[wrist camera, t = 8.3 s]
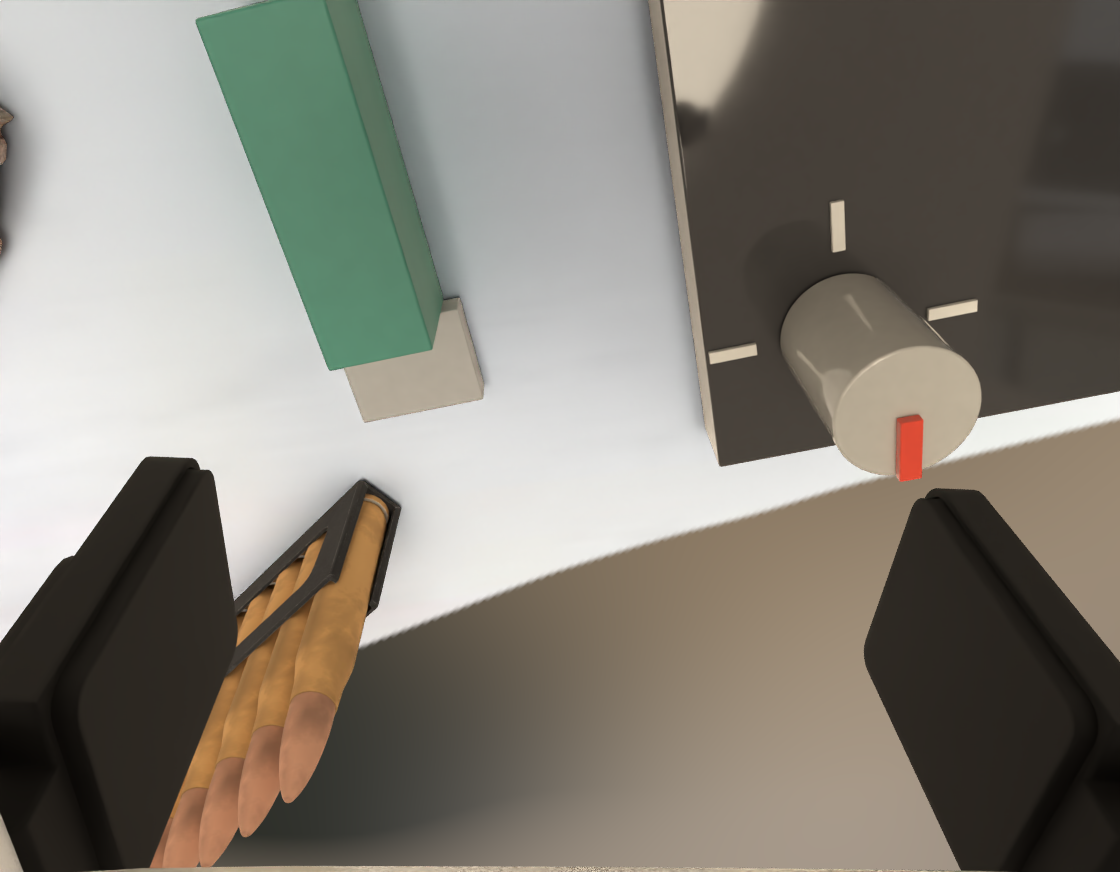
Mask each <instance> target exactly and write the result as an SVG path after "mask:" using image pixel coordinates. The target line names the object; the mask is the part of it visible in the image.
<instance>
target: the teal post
mask: <svg viewBox="0 0 1120 872" xmlns="http://www.w3.org/2000/svg"><path fill="white" fill-rule="evenodd" d="M196 25H197V27H198V30H199V33H200V35H201V38H202V40H203V43H204V46H205V48H206V51H207V54H208V56H209V59H210V61H211V64H212V67H213V69H214V72H215V74H216V77H217V80H218V82H219V85H220V87H221V90H222V93H223V95H224V98H225V100H226V103H227V106H228V108H229V111H230V114H231V116H232V119H233V121H234V124H235V127H236V129H237V132H238V134H239V137H240V140H241V142H242V145H243V147H244V150H245V153H246V155H247V158H248V161H249V163H250V166H251V168H252V171H253V174H254V176H255V179H256V181H257V184H258V187H259V189H260V192H261V194H262V197H263V200H264V202H265V205H266V208H267V210H268V213H269V215H270V218H271V221H272V223H273V226H274V228H275V231H276V234H277V236H278V239H279V241H280V244H281V247H282V249H283V252H284V255H285V257H286V260H287V262H288V265H289V268H290V270H291V273H292V275H293V278H294V281H295V283H296V286H297V288H298V291H299V294H300V296H301V299H302V302H303V304H304V307H305V309H306V312H307V315H308V317H309V320H310V322H311V325H312V328H313V330H314V333H315V335H316V338H317V341H318V343H319V346H320V349H321V351H322V354H323V356H324V359H325V362H326V364H327V367H328V369H329V370H330V371H332V370H337V369H342V368H344V370H345V373H346V375H347V378H348V381H349V383H350V386H351V389H352V391H353V394H354V397H355V400H356V402H357V405H358V408H359V410H360V413H361V416H362V418H363V421H364V422H365V423H366V422H371V421H376V420H381V419H386V418H391V417H396V416H401V415H406V414H411V413H416V412H421V411H426V410H431V409H436V408H441V407H446V406H451V405H456V404H461V403H466V402H471V401H476V400H481V399H483V395H484V382H483V378H482V375H481V371H480V368H479V364H478V361H477V357H476V353H475V350H474V346H473V343H472V339H471V336H470V332H469V328H468V325H467V321H466V318H465V314H464V311H463V307H462V303H461V300H460V298H453V299H449V300H444V301H443V295H442V292H441V288H440V285H439V281H438V278H437V274H436V271H435V268H434V264H433V261H432V257H431V254H430V250H429V247H428V244H427V240H426V237H425V233H424V230H423V226H422V223H421V220H420V216H419V213H418V209H417V206H416V202H415V199H414V196H413V192H412V189H411V185H410V182H409V178H408V175H407V172H406V168H405V165H404V161H403V158H402V154H401V151H400V147H399V144H398V141H397V137H396V134H395V130H394V127H393V123H392V120H391V117H390V113H389V110H388V106H387V103H386V99H385V96H384V93H383V89H382V86H381V82H380V79H379V75H378V72H377V69H376V65H375V62H374V58H373V55H372V51H371V48H370V45H369V41H368V38H367V34H366V31H365V27H364V24H363V20H362V17H361V14H360V10H359V7H358V3H357V0H268V1H264V2H260V3H256V4H251V5H247V6H243V7H239V8H235V9H231V10H228V11H224V12H220V13H216V14H212V15H208V16H204V17H201V18H197V19H196Z"/></svg>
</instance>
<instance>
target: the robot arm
mask: <svg viewBox="0 0 1120 872" xmlns="http://www.w3.org/2000/svg"><path fill="white" fill-rule="evenodd" d="M237 637H238V625H237V618H236V612H235V605H234V599H233V593H232V587H231V580H230V574H229V568H228V562H227V555H226V549H225V543H224V537H223V530H222V524H221V518H220V512H219V505H218V499H217V493H216V487H215V481H214V476H213V474H212V472H211V471H209V470H200V467H199V465H198V463H197V461H196V460H195V459H193V458H174V457H146V458H145V459H144V460H143V461H142V462H141V463H140V464H139V466H138V467H137V469H136V470H135V471H134V473H133V474H132V476H131V477H130V478H129V480H128V481H127V483H126V484H125V485H124V487H123V488H122V490H121V491H120V492H119V494H118V495H117V497H116V498H115V500H114V501H113V502H112V504H111V505H110V507H109V508H108V509H107V511H106V512H105V514H104V515H103V516H102V518H101V519H100V521H99V522H98V523H97V525H96V526H95V528H94V529H93V530H92V532H91V533H90V535H89V536H88V537H87V539H86V540H85V542H84V543H83V545H82V546H81V547H80V549H79V550H78V552H77V553H76V554H75V556H70V557H68V558H65V559H63V560H62V561H61V562H60V563H59V564H58V565H57V566H56V567H55V568H54V570H53V571H52V573H51V574H50V575H49V577H48V578H47V579H46V581H45V582H44V584H43V585H42V586H41V588H40V589H39V590H38V592H37V593H36V595H35V596H34V597H33V599H32V600H31V601H30V603H29V604H28V605H27V607H26V608H25V610H24V611H23V612H22V614H21V615H20V616H19V618H18V619H17V621H16V622H15V623H14V625H13V626H12V627H11V629H10V630H9V632H8V633H7V634H6V636H5V637H4V638H3V640H2V641H1V643H0V872H1120V662H1119V660H1118V659H1117V658H1116V657H1115V656H1114V654H1113V653H1112V652H1111V651H1110V649H1109V648H1108V647H1107V646H1106V645H1105V644H1104V642H1103V641H1102V640H1101V639H1100V637H1099V636H1098V635H1097V634H1096V632H1095V631H1094V630H1093V629H1092V627H1091V626H1090V625H1089V624H1088V622H1087V621H1086V620H1085V619H1084V618H1083V616H1082V615H1081V614H1080V613H1079V611H1078V610H1077V609H1076V608H1075V607H1074V605H1073V604H1072V603H1071V602H1070V600H1069V599H1068V598H1067V597H1066V596H1065V594H1064V593H1063V592H1062V591H1061V589H1060V588H1059V587H1058V586H1057V585H1056V583H1055V582H1054V581H1053V580H1052V578H1051V577H1050V576H1049V575H1048V574H1047V572H1046V571H1045V570H1044V569H1043V567H1042V566H1041V565H1040V564H1039V562H1038V561H1037V560H1036V559H1035V558H1034V556H1033V555H1032V554H1031V553H1030V551H1029V550H1028V549H1027V548H1026V547H1025V545H1024V544H1023V543H1022V542H1021V540H1020V539H1019V538H1018V537H1017V535H1016V534H1015V533H1014V532H1013V531H1012V529H1011V528H1010V527H1009V526H1008V524H1007V523H1006V522H1005V521H1004V520H1003V518H1002V517H1001V516H1000V515H999V514H998V512H997V511H996V510H995V509H994V507H993V506H992V505H991V504H990V502H989V501H988V500H987V499H986V497H985V496H984V495H983V494H981V493H980V492H979V491H976V490H965V489H964V490H963V489H939V488H938V489H937V488H936V489H933V490H931V491H930V492H929V493H928V494H927V495H926V497H925V498H920V499H918V500H917V501H916V502H915V503H914V505H913V507H912V509H911V512H910V515H909V518H908V521H907V524H906V527H905V530H904V532H903V535H902V538H901V541H900V544H899V546H898V549H897V552H896V555H895V558H894V561H893V564H892V566H891V569H890V572H889V575H888V578H887V581H886V584H885V587H884V590H883V592H882V595H881V598H880V601H879V604H878V606H877V609H876V612H875V615H874V618H873V621H872V624H871V626H870V629H869V632H868V635H867V638H866V641H865V645H864V659H865V664H866V667H867V670H868V672H869V675H870V677H871V679H872V681H873V683H874V685H875V687H876V689H877V691H878V694H879V696H880V698H881V700H882V702H883V705H884V707H885V708H886V711H887V713H888V715H889V717H890V719H891V722H892V724H893V726H894V728H895V730H896V732H897V735H898V737H899V739H900V741H901V743H902V745H903V747H904V750H905V752H906V754H907V756H908V758H909V760H910V762H911V765H912V767H913V769H914V771H915V773H916V775H917V777H918V779H919V782H920V783H921V786H922V788H923V790H924V792H925V794H926V797H927V799H928V801H929V803H930V805H931V807H932V809H933V811H934V814H935V816H936V818H937V820H938V822H939V824H940V827H941V829H942V831H943V833H944V835H945V837H946V839H947V842H948V844H949V846H950V848H951V850H952V852H953V854H954V857H955V859H956V861H957V863H958V865H959V867H960V869H961V871H944V870H942V871H940V870H938V871H937V870H863V869H860V870H859V869H786V868H779V869H778V868H673V867H670V868H669V867H668V868H667V867H662V868H661V867H521V866H519V867H518V866H507V867H506V866H504V867H503V866H482V867H481V866H264V867H263V866H262V867H198V868H197V867H194V868H150V865H151V863H152V860H153V858H154V855H155V853H156V850H157V848H158V845H159V843H160V840H161V838H162V835H163V833H164V830H165V828H166V825H167V822H168V820H169V817H170V815H171V812H172V810H173V807H174V805H175V802H176V800H177V797H178V795H179V792H180V790H181V787H182V785H183V782H184V779H185V777H186V774H187V772H188V769H189V767H190V764H191V762H192V759H193V757H194V754H195V752H196V749H197V747H198V744H199V741H200V739H201V736H202V734H203V731H204V729H205V726H206V724H207V721H208V719H209V716H210V714H211V711H212V709H213V706H214V704H215V701H216V698H217V696H218V693H219V691H220V688H221V686H222V683H223V681H224V678H225V676H226V673H227V671H228V668H229V666H230V663H231V661H232V658H233V655H234V652H235V649H236V644H237Z"/></svg>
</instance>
